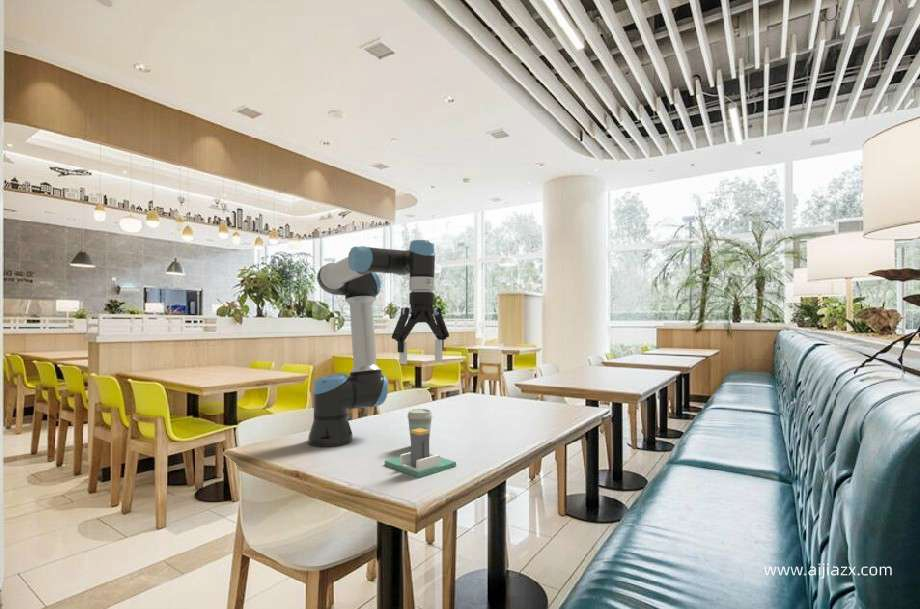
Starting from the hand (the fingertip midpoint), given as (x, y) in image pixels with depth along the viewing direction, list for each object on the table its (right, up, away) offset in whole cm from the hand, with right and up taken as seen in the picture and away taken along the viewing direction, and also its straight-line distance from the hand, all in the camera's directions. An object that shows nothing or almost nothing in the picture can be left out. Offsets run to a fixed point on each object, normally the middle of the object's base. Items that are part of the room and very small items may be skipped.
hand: (421, 362), depth 140 cm
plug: (0, -29, -7) cm, 29 cm away
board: (0, -30, -3) cm, 30 cm away
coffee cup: (-2, -31, +18) cm, 36 cm away
